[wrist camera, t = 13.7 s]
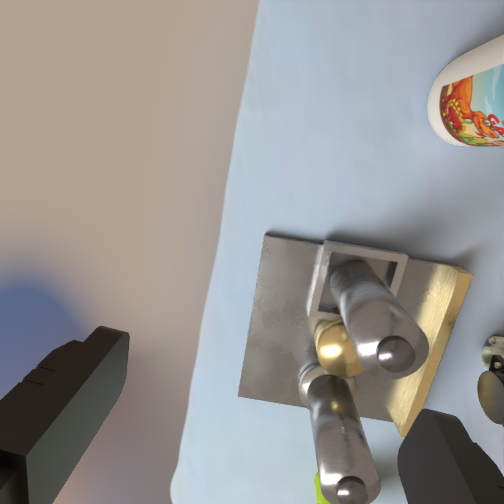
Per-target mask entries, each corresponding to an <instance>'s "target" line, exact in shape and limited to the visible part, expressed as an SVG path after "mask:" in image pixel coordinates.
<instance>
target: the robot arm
mask: <svg viewBox="0 0 504 504" xmlns="http://www.w3.org/2000/svg"><path fill="white" fill-rule="evenodd" d="M129 339H130V336H129V333H128V332H124V331H120V330H116V329H112V328H108V327H104V326H99V327H98V328H96V329H95V331H94V332H93V333H92V334H91V335H90V336H89V337H88V338H87V339H86V340H85V341H84V342H80V341H76V340H72V341H71V342H68V343H66V344H65V345H63V346H61V347H59V348H57V349H55V350H53V351H52V352H51V353H50V354H49V355H48V356H46V357H45V358H44V359H43V360H42V361H41V362H40V363H39V364H38V365H37V367H36V369H33V370H32V371H31V372H30V373H29V374H28V375H26V376H25V377H24V378H23V381H22V382H21V383H18V384H17V385H16V386H15V387H14V388H13V389H12V390H11V391H10V392H9V393H8V394H6V395H5V396H4V397H3V398H2V399H1V400H0V504H52V503H53V502H54V500H55V498H56V497H57V495H58V494H59V492H60V490H61V489H62V487H63V486H64V484H65V482H66V481H67V479H68V477H69V476H70V475H71V473H72V471H73V470H74V468H75V466H76V465H77V463H78V462H79V460H80V459H81V457H82V455H83V454H84V452H85V451H86V449H87V447H88V446H89V444H90V443H91V441H92V440H93V438H94V436H95V435H96V433H97V431H98V430H99V428H100V427H101V425H102V424H103V422H104V420H105V419H106V417H107V416H108V414H109V413H110V411H111V409H112V408H113V406H114V404H115V403H116V401H117V399H118V398H119V396H120V394H121V392H122V389H123V386H124V383H125V380H126V373H127V362H128V350H129ZM398 471H399V475H400V479H401V482H402V485H403V488H404V492H405V495H406V498H407V501H408V504H504V477H503V475H502V473H501V472H500V470H499V468H498V467H497V465H496V464H495V463H494V462H493V461H492V459H491V458H490V457H489V456H488V455H487V454H486V453H485V452H484V451H483V450H482V449H481V447H480V446H479V445H478V444H477V443H474V442H472V440H471V438H470V437H469V435H468V433H467V431H466V430H465V428H464V426H463V424H462V423H461V421H460V420H459V419H458V418H457V417H456V416H454V415H450V414H446V413H442V412H438V411H434V410H430V409H422V410H421V411H420V412H419V414H418V415H417V417H416V419H415V421H414V422H413V424H412V426H411V428H410V430H409V431H408V433H407V435H406V437H405V439H404V440H403V442H402V444H401V446H400V448H399V452H398Z"/></svg>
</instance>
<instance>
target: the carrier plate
mask: <svg viewBox="0 0 504 504" xmlns="http://www.w3.org/2000/svg"><path fill="white" fill-rule="evenodd" d="M352 261H357V262H362V263H365V264H367V265H368V266H370V267H371V268H372V269H373V271H374V272H375V273H376V274H377V275H378V277H379V278H380V279H381V280H382V282H383V283H384V284H385V285H386V286H387V288H388V289H389V290H390V291H391V293H392V294H393V295H394V296H395V297H396V299H397V300H398V301H399V302H400V304H401V305H402V306H403V307H404V308H405V310H406V311H407V312H408V313H409V314H410V316H411V317H412V318H413V319H414V321H415V322H416V323H417V324H418V325H419V327H420V328H421V329H422V330H423V332H424V333H425V334H426V336H427V339H428V342H429V353H428V356H427V359H426V361H425V362H424V364H423V365H422V366H421V367H420V368H419V369H418V370H417V371H416V372H414V373H413V374H411V375H409V376H407V377H404V378H401V379H394V380H386V379H381V378H377V377H375V376H373V375H371V374H369V373H368V372H367V371H366V370H365V369H364V368H363V367H362V365H361V364H360V361H359V359H358V356H357V354H356V351H355V349H354V347H353V344H352V342H351V339H350V337H349V334H348V332H347V329H346V327H345V324H344V322H343V319H342V317H341V314H340V312H339V310H338V307H337V305H336V302H335V300H334V297H333V295H332V292H331V290H330V279H331V276H332V274H333V272H334V271H335V270H336V269H337V268H338V267H339V266H341V265H342V264H345V263H347V262H352ZM472 276H473V275H472V274H471V273H469V272H468V271H466V270H464V269H463V268H461V267H460V266H458V265H454V264H448V263H442V262H436V261H429V260H423V259H417V258H410V257H408V255H407V254H406V253H404V252H397V251H391V250H385V249H378V248H372V247H366V246H360V245H353V244H347V243H341V242H335V241H328V240H323V243H317V242H310V241H304V240H298V239H291V238H285V237H279V236H273V235H266V234H265V235H264V241H263V247H262V253H261V259H260V265H259V271H258V277H257V283H256V289H255V295H254V301H253V307H252V313H251V319H250V325H249V331H248V337H247V344H246V350H245V356H244V362H243V368H242V374H241V380H240V386H239V392H238V397H244V398H251V399H257V400H263V401H269V402H275V403H281V404H287V405H293V406H299V407H305V408H307V409H309V410H310V417H311V424H312V431H313V438H314V445H315V452H316V459H317V466H318V473H319V481H320V488H321V492H322V494H323V496H324V498H325V499H326V500H327V501H328V502H330V503H331V504H369V503H371V502H372V501H374V500H375V499H376V497H377V496H378V494H379V492H380V488H381V484H380V480H379V477H378V474H377V471H376V468H375V464H374V461H373V458H372V455H371V452H370V449H369V446H368V443H367V440H366V437H365V433H364V430H363V427H362V424H361V421H360V418H359V417H365V418H371V419H377V420H383V421H389V422H394V423H395V425H396V427H397V430H398V432H399V434H400V436H402V437H406V435H407V433H408V431H409V430H410V428H411V426H412V424H413V422H414V421H415V419H416V417H417V415H418V414H419V412H420V411H421V410H422V408H423V405H424V402H425V400H426V397H427V395H428V392H429V389H430V387H431V384H432V381H433V379H434V376H435V373H436V371H437V368H438V366H439V363H440V360H441V358H442V355H443V352H444V350H445V347H446V345H447V342H448V339H449V337H450V334H451V331H452V329H453V326H454V323H455V321H456V318H457V316H458V313H459V310H460V308H461V305H462V302H463V300H464V297H465V295H466V292H467V289H468V287H469V284H470V281H471V279H472Z"/></svg>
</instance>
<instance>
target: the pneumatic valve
mask: <svg viewBox="0 0 504 504" xmlns="http://www.w3.org/2000/svg"><path fill="white" fill-rule="evenodd" d="M488 341H489V343H490V344H491V345H490V347H485V346H484V348H483V349H482V352H481V357H482V361H483V363H484V364H485V366H486V367H488V368H489V371H485V372H483V373H482V374H481V375H480V377H479V380H478V387H477V389H478V397H479V401H480V404H481V406H482V408H483V410H484V412H485V414H486V415H487V416H488V418H489V419H490V420H492V421H493V422H494V423H496V424H502V425H503V427H504V337H502V336H492V337H491V338H489V340H488Z"/></svg>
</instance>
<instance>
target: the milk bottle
mask: <svg viewBox="0 0 504 504" xmlns="http://www.w3.org/2000/svg"><path fill="white" fill-rule="evenodd" d="M427 113H428V118H429V122H430V124H431V126H432V128H433V130H434V131H435V133H436V134H437V135H438V136H439V137H440V138H441V139H443V140H444V141H446V142H448V143H450V144H453V145H457V146H504V34H503V35H501V36H499V37H497V38H495V39H493V40H491V41H489V42H487V43H485V44H483V45H481V46H479V47H477V48H475V49H473V50H471V51H469V52H467V53H465V54H463V55H461V56H459V57H458V58H456V59H455V60H453V61H452V62H450V63H449V64H448V65H447V66H446V67H445V68H444V69H443V70H442V71H441V72H440V74H439V75H438V76H437V78H436V79H435V81H434V83H433V85H432V87H431V90H430V93H429V97H428V102H427Z"/></svg>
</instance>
